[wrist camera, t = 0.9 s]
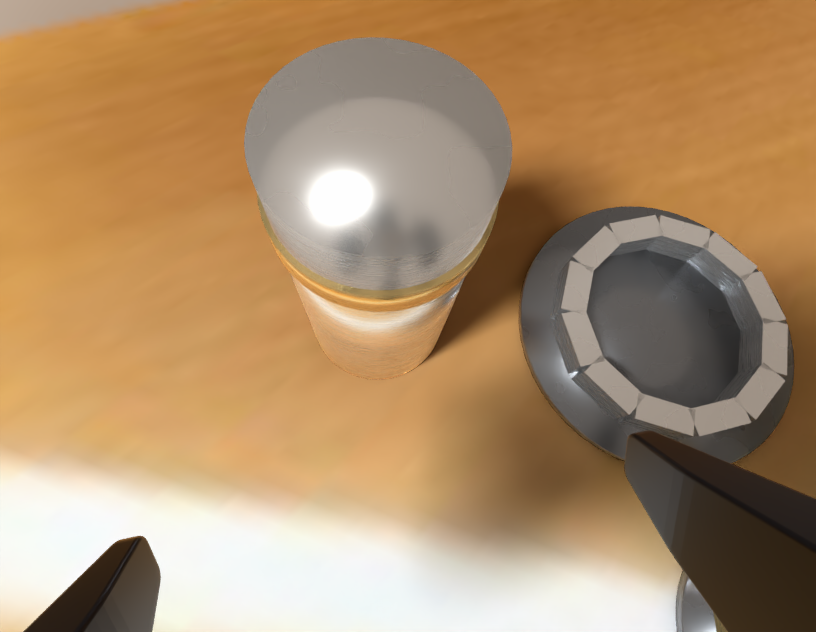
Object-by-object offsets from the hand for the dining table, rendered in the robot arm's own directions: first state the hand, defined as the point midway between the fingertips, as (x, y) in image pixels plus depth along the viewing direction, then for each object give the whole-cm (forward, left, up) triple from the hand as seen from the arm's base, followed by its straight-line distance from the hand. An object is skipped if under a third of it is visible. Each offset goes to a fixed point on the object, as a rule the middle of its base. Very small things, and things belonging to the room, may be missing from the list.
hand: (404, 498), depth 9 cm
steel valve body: (+6, -5, -13) cm, 15 cm away
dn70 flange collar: (-4, -15, -13) cm, 20 cm away
